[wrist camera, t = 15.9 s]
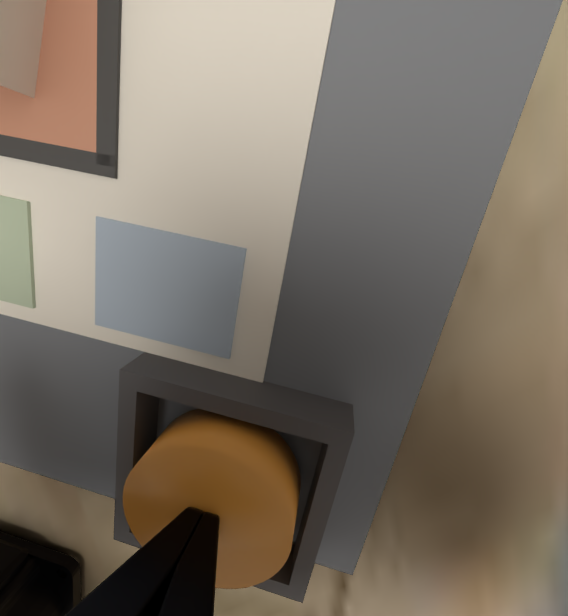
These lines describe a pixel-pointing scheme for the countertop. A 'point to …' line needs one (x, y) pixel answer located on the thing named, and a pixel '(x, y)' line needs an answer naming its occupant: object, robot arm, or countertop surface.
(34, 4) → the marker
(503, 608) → the countertop surface
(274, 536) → the button
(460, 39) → the grey flat board
